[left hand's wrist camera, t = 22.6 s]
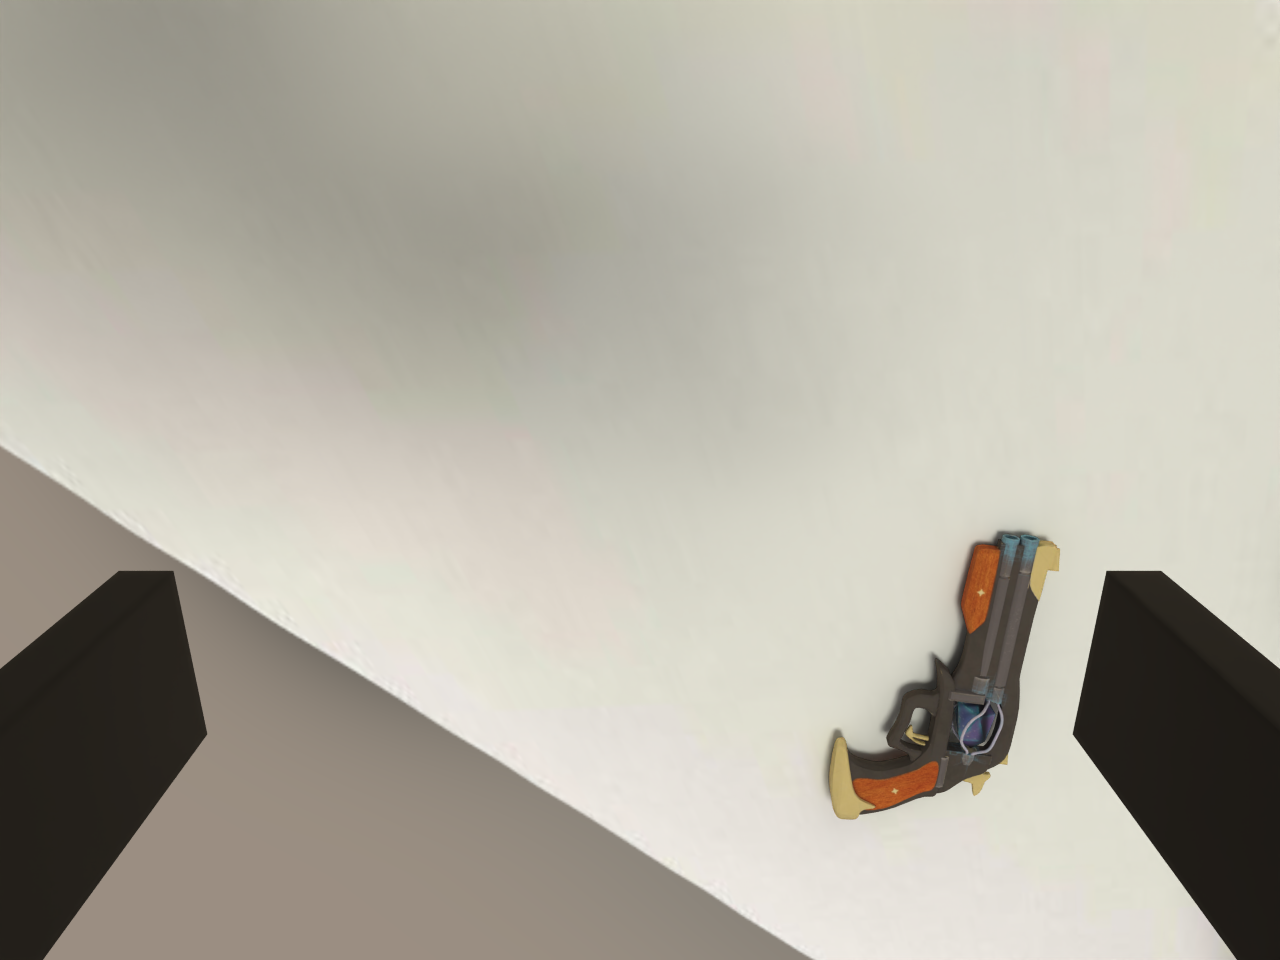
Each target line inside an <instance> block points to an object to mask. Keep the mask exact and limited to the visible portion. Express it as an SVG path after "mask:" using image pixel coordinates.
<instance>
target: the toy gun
mask: <svg viewBox="0 0 1280 960" xmlns="http://www.w3.org/2000/svg"><path fill="white" fill-rule="evenodd" d="M1059 556H1060V549H1059V548H1057V546H1056V545H1055V544H1054V543H1053V542H1051V541H1040V539H1039V538H1037V537H1035V536H1031V535H1021V536H1020V538H1019V537H1017V536H1014V535H1010V534H1004V535H1003V536H1002V539H998V544H997V546H993V545H984V544H981V545H977V546H976V547H975V549H974V553H973V557H972V561H971V564H970V568H969V572H968V576H967V580H966V584H965V588H964V592H963V596H962V600H961V607H962V611H963V615H964V619H965V623H966V627H967V635H966V639H965V644H964V648H963V652H962V656H961V659H960V661H959V663H958V665H957V667H956V669H955V670H954V672H953V673H952V674H950V672H949V670H948V669H947V667H946V666H945V665H944V664H943V663H942V662H941V661H940V660H938V659H937V658H936V659H935V663H936V669H937V688H936V689H934V690H931V691H930V690H924V689H916V690H912V691H910V692H907V693H906V694H905V695H904V696H903V699H902V704H901V708H900V712H899V715H898V717H897V719H896V721H895V723H894V725H893V726H892V728H891V730H890V731H889V733H888V735H887V737H886V739H887V742H888V745H889V746H890V747H893V748H896V749H899V750H902V751H904V752H906V753H908V755H906V756H903V757H900V758H895V759H891V760H886V761H881V762H874V761H869V760H865V759H862V758H859V757H856V756H854V755H852V754H851V753H850V752H849V751H848V750H847V744H846V741H845V739H844V738H843V737H840V738H837V740H836V741H835V744H834V749H833V753H832V759H831V765H830V773H829V784H830V793H831V799H832V806H833V810H834V812H835V814H836V816H837V817H838V818H840V819H856V818H857V817H858V816H859V815H860V814H868V813H874V812H879V811H883V810H887V809H891V808H894V807H897V806H899V805H902V804H904V803H907V802H909V801H912V800H915V799H917V798H921V797H933V796H935V795H936V793H941V792H945V791H947V790H949V789H950V788H952V787H953V786H955V785H956V784H958V783H959V782H961V781H965V782H970V783H971V784H972V792H973V795H974V796H975V795H977V794H978V793H979V792H980V791H981V789H982V787H983V785H984V782H985V781H986V780H988V779H989V778H990V773H989V772H986V771H987V769H990V768H992V767H994V766H996V765H998V764H1005V765H1007V761H1008V752H1009V749H1010V746H1011V742H1012V738H1013V734H1014V730H1015V725H1016V721H1017V716H1018V710H1019V698H1020V682H1019V679H1020V673H1021V669H1022V664H1023V660H1024V656H1025V652H1026V648H1027V643H1028V639H1029V635H1030V631H1031V627H1032V623H1033V618H1034V615H1035V611H1036V608H1037V604H1038V601H1039V600H1040V596H1041V593H1042V589H1043V585H1044V581H1045V578H1046V574H1047V570H1052V571H1059ZM987 699H988V700H987ZM954 701H958V703H956V704H955V705H954ZM990 701H992V702H994V703H997V707H998V715H997V719H996V723H995V728H994V730H993V733H992V735H991V737H990V739H989V741H988V742H987V743H986V744H985V745H984V746H978V745H979V744H981V743H983V742H985V740H986V738H987V735H988V733H989V731H990V728H991V726H992V723H993V721H994V718H995V715H996V714H995V712H994V711H993V709H992V707H991V705H990ZM915 708H924V709H926V710H928V711H929V712H930V713H931V714H932V715H931V720H930V725H929V729H928V734H927V736H925V735H920V734H915V733H913V729H912V725H910V726H909V727H908V725H909V723H910V720H911V717H912V714H913V711H914V709H915ZM955 708H956V710H955V713H956V721H957V730H958V734H957V733H956V731H955V729H954V725H953V713H954V709H955ZM907 727H908V728H907ZM951 727H952V730H953V733H954V734H955V736H956V737H957V738H958V739H959V741H960V742H959V743H956V742H949V741H948V740H949V736H950V731H951ZM906 728H907V729H906ZM905 730H906V731H905ZM904 732H905V734H906V735H907V736H908V737H909V738H910V739H911V740H912V741H914V742H915V743H918V744H920V745H915V744H910V743H907V742H905V741H903V740H902V739H901V738H902V736H903V734H904ZM913 737H915V738H918V739H923V740H924V742H923V741H919V740H916V739H914V738H913Z"/></svg>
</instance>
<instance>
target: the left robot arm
mask: <svg viewBox="0 0 1280 960" xmlns="http://www.w3.org/2000/svg"><path fill="white" fill-rule="evenodd" d="M206 735H207V731H206V726H205V721H204V716H203V711H202V707H201V702H200V697H199V692H198V687H197V682H196V678H195V673H194V668H193V663H192V658H191V653H190V649H189V644H188V639H187V634H186V629H185V625H184V620H183V615H182V610H181V605H180V600H179V596H178V591H177V586H176V581H175V576H174V572H173V571H118V572H117V573H116V574H115V575H113V576H112V577H111V578H110V579H109V580H107V581H106V582H105V583H104V584H103V585H101V586H100V587H99V588H98V589H96V590H95V591H94V592H93V593H92V594H90V595H89V596H88V597H87V598H86V599H84V600H83V601H82V602H81V603H80V604H78V605H77V606H76V607H75V608H74V609H72V610H71V611H70V612H69V613H67V614H66V615H65V616H64V617H63V618H61V619H60V620H59V621H58V622H57V623H55V624H54V625H53V626H52V627H50V628H49V629H48V630H47V631H46V632H45V633H43V634H42V635H41V636H40V637H38V638H37V639H36V640H35V641H34V642H32V643H31V644H30V645H29V646H27V647H26V648H25V649H24V650H23V651H21V652H20V653H19V654H18V655H17V656H15V657H14V658H13V659H12V660H11V661H9V662H8V663H7V664H6V665H4V666H3V667H2V668H1V669H0V960H43V959H44V958H45V956H46V955H47V953H48V952H49V951H50V949H51V948H52V947H53V945H54V944H55V942H56V941H57V940H58V938H59V937H60V936H61V934H62V933H63V931H64V930H65V929H66V927H67V926H68V925H69V923H70V922H71V920H72V919H73V918H74V916H75V915H76V914H77V912H78V911H79V909H80V908H81V907H82V905H83V904H84V903H85V901H86V900H87V899H88V897H89V896H90V894H91V893H92V892H93V890H94V889H95V888H96V886H97V885H98V883H99V882H100V881H101V879H102V878H103V876H104V875H105V874H106V872H107V871H108V870H109V868H110V867H111V866H112V864H113V863H114V862H115V860H116V859H117V857H118V856H119V855H120V853H121V852H122V851H123V849H124V848H125V846H126V845H127V844H128V842H129V841H130V840H131V838H132V837H133V835H134V834H135V833H136V831H137V830H138V829H139V827H140V826H141V824H142V823H143V822H144V820H145V819H146V818H147V816H148V815H149V813H150V812H151V811H152V809H153V808H154V807H155V805H156V804H157V802H158V801H159V800H160V798H161V797H162V796H163V794H164V793H165V792H166V790H167V789H168V787H169V786H170V785H171V783H172V782H173V780H174V779H175V778H176V776H177V775H178V774H179V772H180V771H181V770H182V768H183V767H184V765H185V764H186V763H187V761H188V760H189V759H190V757H191V756H192V754H193V753H194V752H195V750H196V749H197V748H198V746H199V745H200V744H201V742H202V741H203V739H204V738H205V737H206ZM1073 735H1074V737H1075V738H1076V739H1077V741H1078V742H1079V744H1080V745H1081V746H1082V748H1083V749H1084V750H1085V752H1086V753H1087V754H1088V756H1089V757H1090V759H1091V760H1092V761H1093V763H1094V764H1095V765H1096V767H1097V768H1098V770H1099V771H1100V772H1101V774H1102V775H1103V776H1104V778H1105V779H1106V781H1107V782H1108V783H1109V785H1110V786H1111V787H1112V789H1113V790H1114V792H1115V793H1116V794H1117V796H1118V797H1119V798H1120V800H1121V801H1122V803H1123V804H1124V805H1125V807H1126V808H1127V809H1128V811H1129V812H1130V813H1131V815H1132V816H1133V818H1134V819H1135V820H1136V822H1137V823H1138V824H1139V826H1140V827H1141V829H1142V830H1143V831H1144V833H1145V834H1146V835H1147V837H1148V838H1149V840H1150V841H1151V842H1152V844H1153V845H1154V846H1155V848H1156V849H1157V851H1158V852H1159V853H1160V855H1161V856H1162V857H1163V859H1164V860H1165V862H1166V863H1167V864H1168V866H1169V867H1170V868H1171V870H1172V871H1173V872H1174V874H1175V875H1176V877H1177V878H1178V879H1179V881H1180V882H1181V883H1182V885H1183V886H1184V888H1185V889H1186V890H1187V892H1188V893H1189V894H1190V896H1191V897H1192V899H1193V900H1194V901H1195V903H1196V904H1197V905H1198V907H1199V908H1200V910H1201V911H1202V912H1203V914H1204V915H1205V916H1206V918H1207V919H1208V921H1209V922H1210V923H1211V925H1212V926H1213V927H1214V929H1215V930H1216V931H1217V933H1218V934H1219V936H1220V937H1221V938H1222V940H1223V941H1224V942H1225V944H1226V945H1227V947H1228V948H1229V949H1230V951H1231V952H1232V953H1233V955H1234V956H1235V958H1236V959H1237V960H1280V669H1279V668H1278V667H1277V666H1276V665H1274V664H1273V663H1272V662H1271V661H1269V660H1268V659H1267V658H1266V657H1265V656H1263V655H1262V654H1261V653H1260V652H1259V651H1257V650H1256V649H1255V648H1254V647H1253V646H1251V645H1250V644H1249V643H1248V642H1246V641H1245V640H1244V639H1243V638H1242V637H1240V636H1239V635H1238V634H1237V633H1236V632H1234V631H1233V630H1232V629H1231V628H1230V627H1228V626H1227V625H1226V624H1225V623H1223V622H1222V621H1221V620H1220V619H1219V618H1217V617H1216V616H1215V615H1214V614H1213V613H1211V612H1210V611H1209V610H1208V609H1207V608H1205V607H1204V606H1203V605H1202V604H1200V603H1199V602H1198V601H1197V600H1196V599H1194V598H1193V597H1192V596H1191V595H1190V594H1188V593H1187V592H1186V591H1185V590H1184V589H1182V588H1181V587H1180V586H1179V585H1177V584H1176V583H1175V582H1174V581H1173V580H1171V579H1170V578H1169V577H1168V576H1167V575H1165V574H1164V573H1163V572H1162V571H1106V576H1105V581H1104V586H1103V591H1102V596H1101V600H1100V605H1099V610H1098V615H1097V620H1096V625H1095V629H1094V634H1093V639H1092V644H1091V649H1090V653H1089V658H1088V663H1087V668H1086V673H1085V678H1084V682H1083V687H1082V692H1081V697H1080V702H1079V706H1078V711H1077V716H1076V721H1075V726H1074V731H1073Z"/></svg>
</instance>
